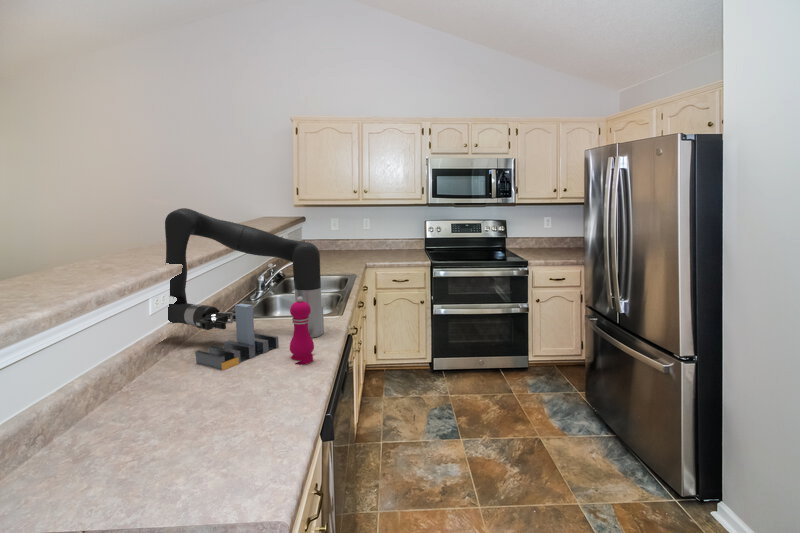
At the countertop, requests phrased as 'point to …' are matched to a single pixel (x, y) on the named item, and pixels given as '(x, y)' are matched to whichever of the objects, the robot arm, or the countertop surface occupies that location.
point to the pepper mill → (301, 333)
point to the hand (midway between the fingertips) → (236, 322)
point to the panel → (245, 323)
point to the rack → (236, 352)
